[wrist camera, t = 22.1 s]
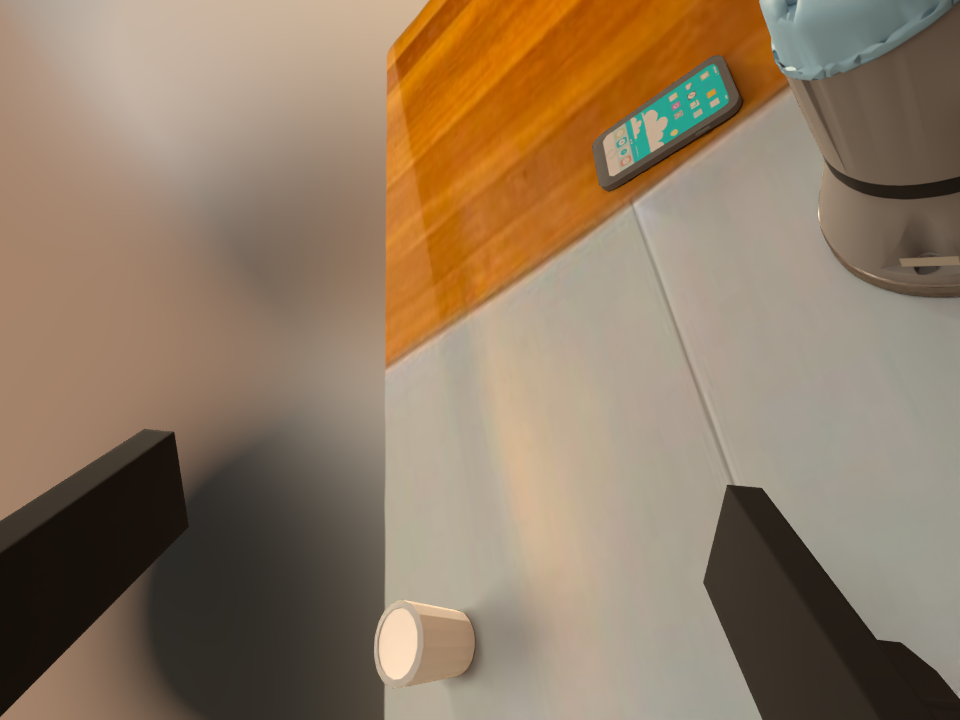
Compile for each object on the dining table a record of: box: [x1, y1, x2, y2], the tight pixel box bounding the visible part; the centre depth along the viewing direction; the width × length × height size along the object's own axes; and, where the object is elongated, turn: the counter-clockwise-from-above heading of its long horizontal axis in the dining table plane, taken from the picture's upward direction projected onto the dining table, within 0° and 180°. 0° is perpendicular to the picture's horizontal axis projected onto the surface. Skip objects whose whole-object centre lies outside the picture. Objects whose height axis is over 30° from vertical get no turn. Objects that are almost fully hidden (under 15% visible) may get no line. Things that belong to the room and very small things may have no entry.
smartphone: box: [592, 55, 742, 191], centre depth 54 cm, size 9×1×15 cm
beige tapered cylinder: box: [374, 600, 475, 689], centre depth 48 cm, size 7×7×7 cm
